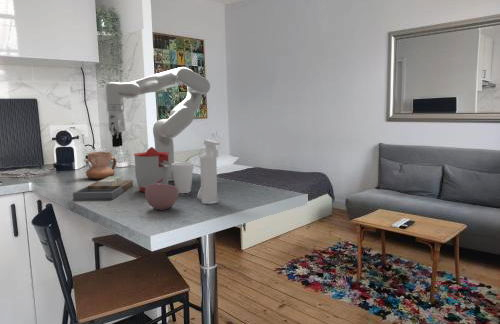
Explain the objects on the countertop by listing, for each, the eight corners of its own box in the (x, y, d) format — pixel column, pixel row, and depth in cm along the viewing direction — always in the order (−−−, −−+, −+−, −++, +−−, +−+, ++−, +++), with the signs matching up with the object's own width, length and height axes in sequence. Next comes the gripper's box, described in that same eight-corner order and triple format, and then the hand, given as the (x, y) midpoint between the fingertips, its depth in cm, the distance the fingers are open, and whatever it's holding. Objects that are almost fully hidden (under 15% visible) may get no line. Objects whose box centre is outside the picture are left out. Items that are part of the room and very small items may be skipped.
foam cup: (173, 195, 162) (172, 165, 160) (171, 191, 171) (170, 162, 169) (195, 194, 164) (194, 164, 163) (192, 189, 173) (192, 161, 171)
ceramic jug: (91, 182, 194) (89, 154, 192) (79, 178, 203) (78, 152, 202) (123, 178, 207) (122, 152, 205) (110, 174, 216) (110, 150, 215)
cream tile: (117, 183, 175) (116, 178, 174) (112, 185, 169) (112, 181, 168) (104, 183, 174) (103, 179, 174) (99, 185, 169) (98, 181, 168)
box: (123, 192, 168) (122, 186, 168) (112, 199, 155) (111, 192, 154) (87, 192, 168) (87, 186, 168) (73, 200, 155) (72, 193, 154)
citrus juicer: (156, 195, 161) (154, 149, 159) (128, 191, 170) (125, 147, 168) (180, 189, 175) (179, 146, 172) (153, 185, 184) (151, 144, 181)
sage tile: (122, 180, 181) (121, 176, 181) (117, 182, 176) (117, 178, 175) (109, 180, 181) (109, 176, 181) (104, 182, 175) (104, 178, 175)
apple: (180, 204, 146) (180, 175, 144) (175, 213, 134) (174, 181, 133) (149, 205, 146) (148, 176, 144) (142, 213, 134) (140, 182, 132)
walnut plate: (133, 186, 182) (132, 180, 182) (123, 192, 168) (123, 185, 168) (100, 186, 182) (99, 180, 182) (87, 192, 168) (87, 186, 168)
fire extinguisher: (205, 197, 157) (203, 137, 152) (224, 203, 148) (223, 140, 144) (191, 200, 152) (190, 139, 148) (211, 207, 144) (210, 142, 139)
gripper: (117, 108, 173) (119, 147, 176) (128, 108, 190) (130, 144, 192) (101, 108, 173) (103, 148, 176) (113, 108, 190) (115, 144, 192)
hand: (117, 145), depth 184 cm, fingers open, 3 cm apart
